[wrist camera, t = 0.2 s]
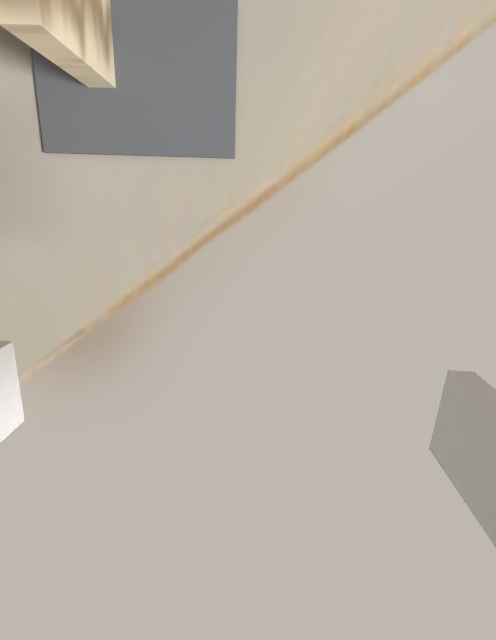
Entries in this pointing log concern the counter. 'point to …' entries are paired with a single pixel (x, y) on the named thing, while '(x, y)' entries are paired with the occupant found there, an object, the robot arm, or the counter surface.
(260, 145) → the counter surface
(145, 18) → the mat
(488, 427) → the robot arm
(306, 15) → the counter surface
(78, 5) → the birch block
